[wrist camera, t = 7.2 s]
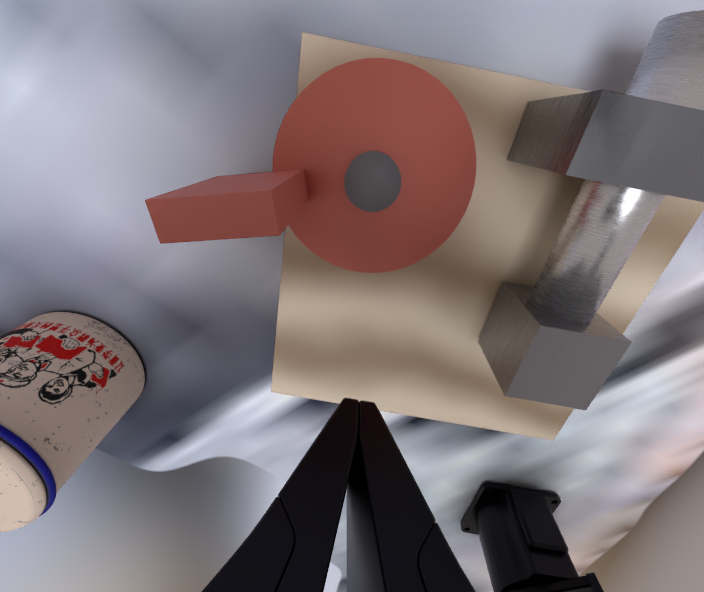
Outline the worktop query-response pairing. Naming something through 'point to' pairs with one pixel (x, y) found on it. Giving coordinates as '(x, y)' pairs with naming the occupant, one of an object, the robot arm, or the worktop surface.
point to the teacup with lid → (57, 405)
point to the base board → (448, 273)
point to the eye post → (615, 141)
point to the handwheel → (346, 173)
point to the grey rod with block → (589, 255)
